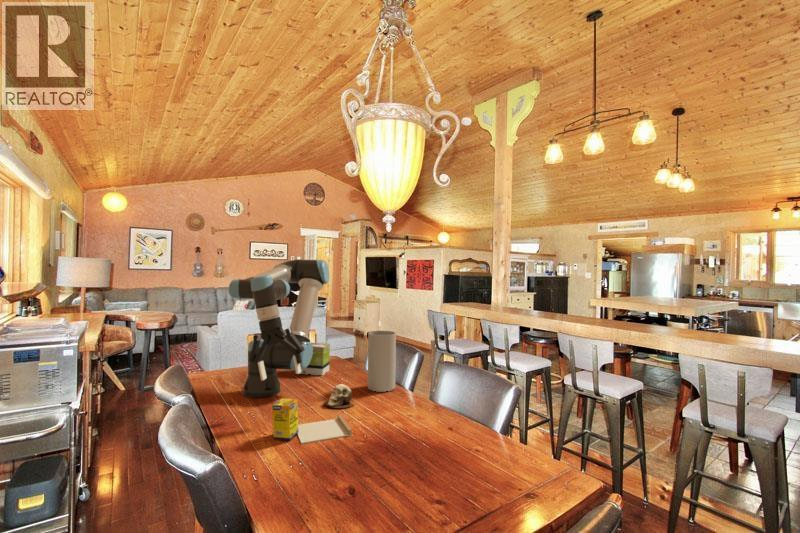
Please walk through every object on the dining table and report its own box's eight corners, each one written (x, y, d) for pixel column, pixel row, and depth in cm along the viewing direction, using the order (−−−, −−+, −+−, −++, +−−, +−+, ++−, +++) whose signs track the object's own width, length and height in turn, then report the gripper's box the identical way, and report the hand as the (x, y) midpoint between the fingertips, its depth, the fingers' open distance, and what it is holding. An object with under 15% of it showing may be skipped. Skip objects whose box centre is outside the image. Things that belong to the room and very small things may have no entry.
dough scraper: (301, 444, 116) (301, 438, 116) (294, 426, 129) (294, 421, 129) (351, 435, 123) (351, 429, 123) (340, 419, 136) (340, 414, 136)
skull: (336, 410, 142) (326, 385, 147) (326, 422, 147) (316, 398, 152) (362, 401, 150) (351, 378, 155) (351, 413, 156) (341, 391, 161)
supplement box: (290, 440, 118) (289, 405, 117) (272, 439, 119) (271, 405, 119) (299, 432, 123) (298, 398, 123) (282, 431, 125) (281, 398, 125)
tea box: (294, 374, 192) (295, 345, 192) (302, 369, 202) (303, 341, 202) (322, 376, 189) (323, 346, 189) (329, 371, 199) (330, 342, 199)
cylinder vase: (400, 387, 174) (401, 332, 174) (384, 394, 163) (385, 336, 163) (378, 382, 180) (379, 329, 180) (361, 389, 170) (362, 333, 170)
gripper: (231, 326, 135) (244, 385, 134) (297, 313, 131) (310, 373, 131) (243, 323, 142) (255, 378, 142) (305, 310, 139) (317, 367, 138)
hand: (281, 376), depth 136 cm, fingers open, 13 cm apart
